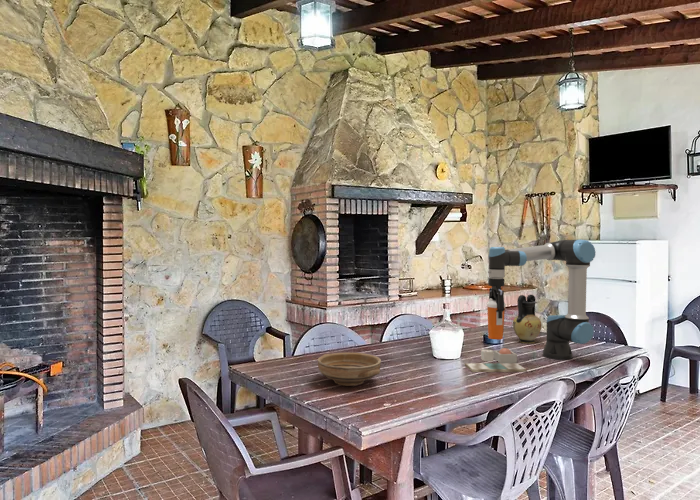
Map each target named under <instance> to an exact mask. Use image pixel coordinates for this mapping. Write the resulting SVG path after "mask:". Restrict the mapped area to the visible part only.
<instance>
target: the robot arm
mask: <svg viewBox="0 0 700 500" xmlns="http://www.w3.org/2000/svg"><path fill="white" fill-rule="evenodd" d="M488 250H489V251H488V257H487V258H488V271H487V273H488V277H489V278H488V286H489V288H488V289H489V294H488V300H489V299H490V298H493V299H494V298H495V300H496V303H497V310H496V312H497V315H496V325H502V314H503V311H504V310H506V308H505V309H504V303H505V295H504V293H505V291H504V290H502V287H504V286H505V278H506V277H505V276H506V274H505V273H506V271H505V270H506V269H505V267H520V266H521V267H523V266H524V265H526V263H527V262H531V261H540V260H547V261H563V262H565V266H566V267H567V268H568V297H567V298H568V299H567V313H566V314H555V315H553V314H552V315H548V316H547V318H546V341H545V344H544V348H543V351H542V356H543V357H544V358H548V359H554V360H562V361H563V360H564V361H565V360H572V359H573V351H572V349H571V346H570V342H572V343H574V344H580V345H585V344H587V343H589V342H590V340H592V338H593V336H594V333H595V331H594V327H593V326H592V324H591V323H590V321H589V320H590V318H589V316H588V315H587V314H586V313H587V277H588V275H587V273H588V272H587V271H588V268H589V267H591V262H593V261H594V259H595V258H596V249H595V246H594V245H593V243H592V242H590V241H589V240H586V239H563V240H562V239H561V240H556V241H551V242H546V243H544V245H543V244H542V245H533V246H527V247H518V248H517V247H516V248H508V249H506V248H505V247H504V246H491V247H489V249H488Z"/></svg>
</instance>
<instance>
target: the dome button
mask: <svg viewBox="0 0 700 500" xmlns="http://www.w3.org/2000/svg"><path fill="white" fill-rule="evenodd" d="M498 351H499V353H500V354H511V351H512V350H510V349H509V348H508V347H507V348H506V347H503V348H500V350H498Z"/></svg>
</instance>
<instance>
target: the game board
mask: <svg viewBox="0 0 700 500" xmlns="http://www.w3.org/2000/svg"><path fill="white" fill-rule="evenodd" d="M464 366H465V367H466V368H467V369H468V370H469V371H470V370H471V371H470V372H472V373H524V372H525V373H526V372H528V371H527V368H526V367H524V366H522V365H521V364H519V363H518V362H517V363H499V362H497V363H494V362H493V363H491V362H490V363H489V362H488V363H487V362H486V363H479V362H478V363H477V362H476V363H470V362H469V363H466V362H465V363H464Z"/></svg>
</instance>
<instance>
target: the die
mask: <svg viewBox="0 0 700 500" xmlns="http://www.w3.org/2000/svg"><path fill="white" fill-rule="evenodd" d="M480 360H482V361H484V362H494V350H492V349H481V351H480Z"/></svg>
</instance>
